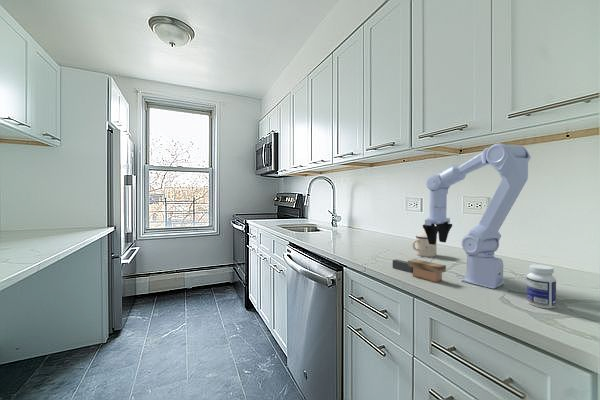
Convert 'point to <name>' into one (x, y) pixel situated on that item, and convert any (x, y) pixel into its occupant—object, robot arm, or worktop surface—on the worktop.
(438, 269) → the walnut sheet
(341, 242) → the worktop surface
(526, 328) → the worktop surface
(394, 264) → the rubber mat block
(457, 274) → the worktop surface
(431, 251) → the teacup with lid
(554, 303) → the pill bottle
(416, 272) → the tan rectangular block
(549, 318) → the worktop surface
